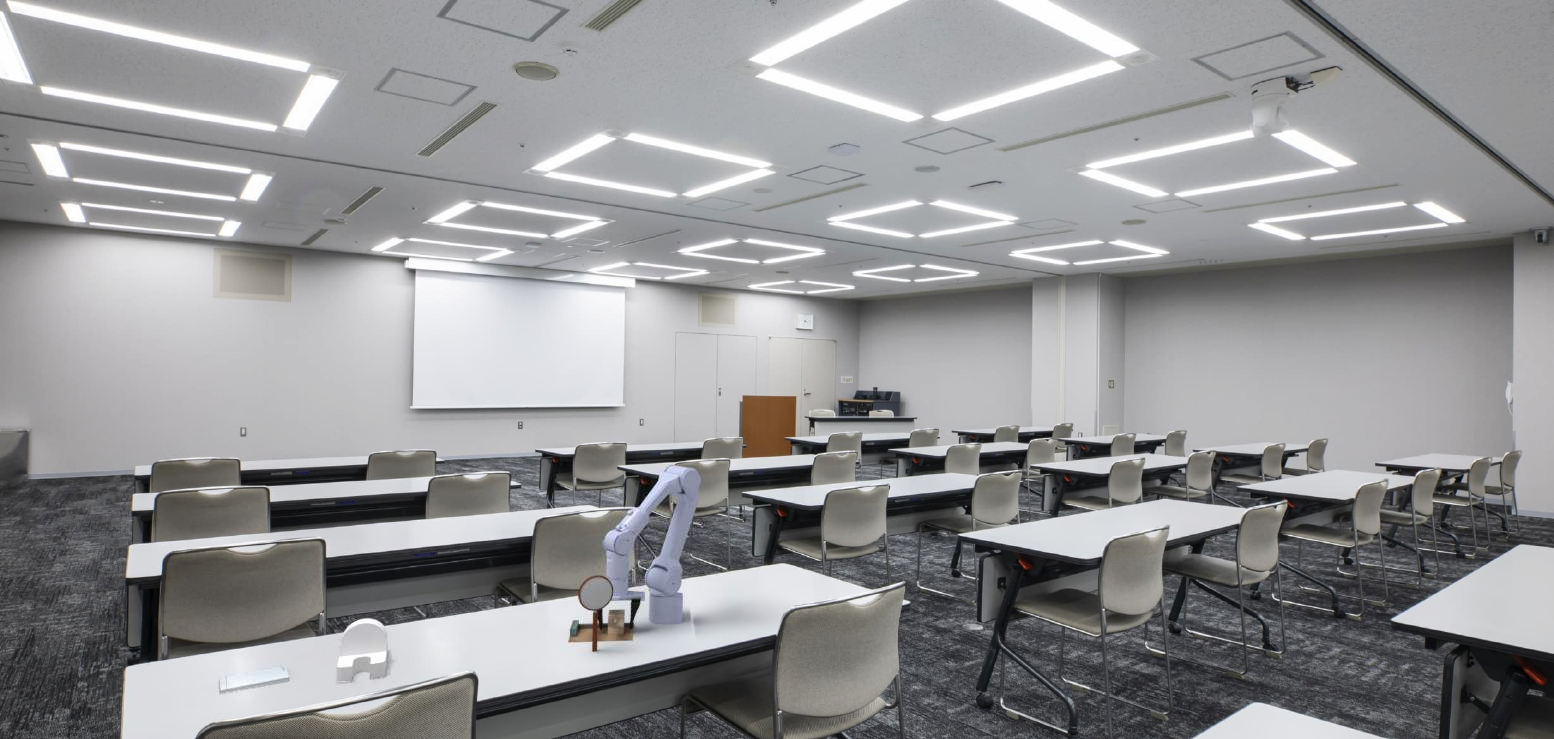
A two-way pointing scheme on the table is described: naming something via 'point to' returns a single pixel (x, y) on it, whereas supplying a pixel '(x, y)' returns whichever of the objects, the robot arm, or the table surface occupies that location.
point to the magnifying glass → (595, 599)
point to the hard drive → (254, 679)
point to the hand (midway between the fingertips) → (616, 628)
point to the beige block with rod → (616, 622)
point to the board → (586, 630)
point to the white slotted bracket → (363, 650)
